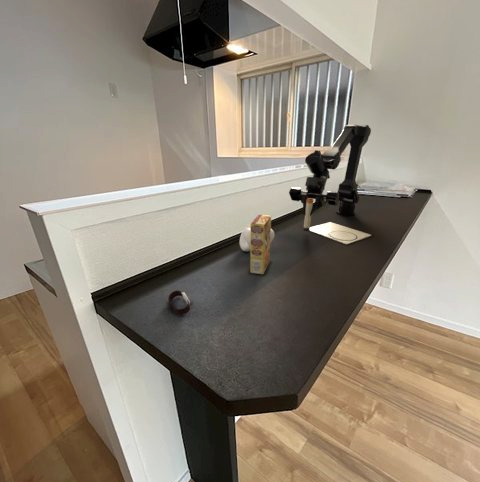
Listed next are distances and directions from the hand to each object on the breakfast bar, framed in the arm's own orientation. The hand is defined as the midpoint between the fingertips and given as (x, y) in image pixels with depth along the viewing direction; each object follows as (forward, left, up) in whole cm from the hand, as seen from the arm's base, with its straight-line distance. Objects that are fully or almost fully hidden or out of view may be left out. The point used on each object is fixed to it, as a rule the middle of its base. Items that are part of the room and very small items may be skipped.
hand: (307, 215), depth 101 cm
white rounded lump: (0, -26, -8) cm, 27 cm away
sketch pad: (+5, +13, -8) cm, 17 cm away
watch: (+16, -60, -8) cm, 63 cm away
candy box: (+11, -32, -8) cm, 35 cm away
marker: (-1, +1, -7) cm, 7 cm away
